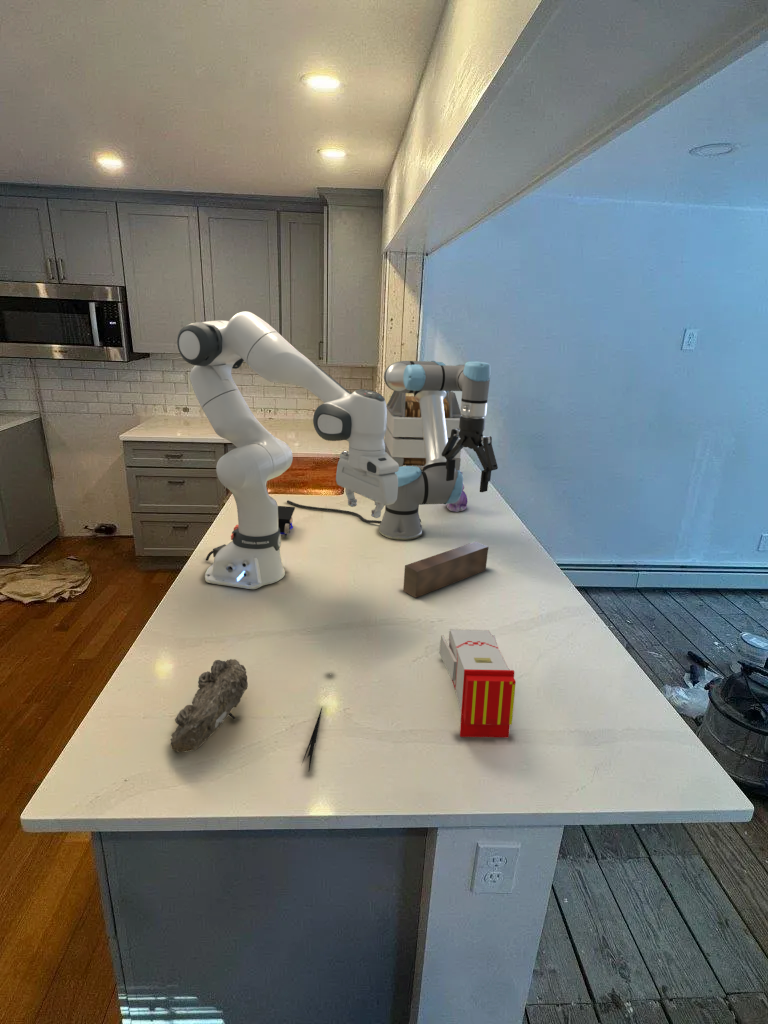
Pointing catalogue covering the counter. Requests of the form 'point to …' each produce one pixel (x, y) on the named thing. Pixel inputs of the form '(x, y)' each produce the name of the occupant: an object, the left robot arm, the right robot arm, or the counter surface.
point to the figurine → (459, 502)
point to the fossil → (210, 704)
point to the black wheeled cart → (285, 519)
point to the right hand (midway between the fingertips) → (466, 485)
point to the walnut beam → (444, 569)
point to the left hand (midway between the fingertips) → (363, 511)
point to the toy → (479, 682)
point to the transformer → (414, 428)
